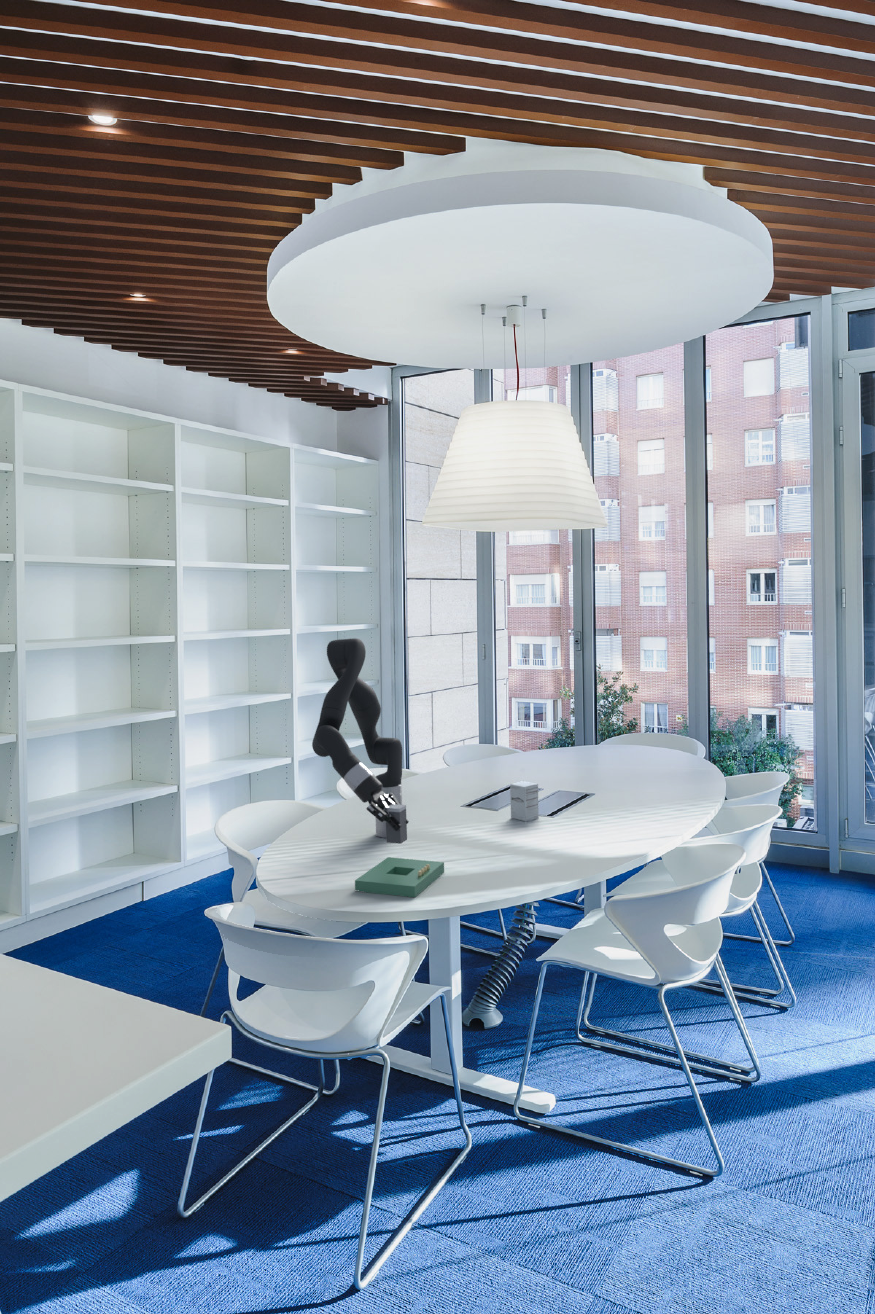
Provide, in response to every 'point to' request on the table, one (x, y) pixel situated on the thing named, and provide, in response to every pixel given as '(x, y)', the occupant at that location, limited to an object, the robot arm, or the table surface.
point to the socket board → (400, 877)
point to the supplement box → (524, 800)
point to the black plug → (400, 816)
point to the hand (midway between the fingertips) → (402, 826)
